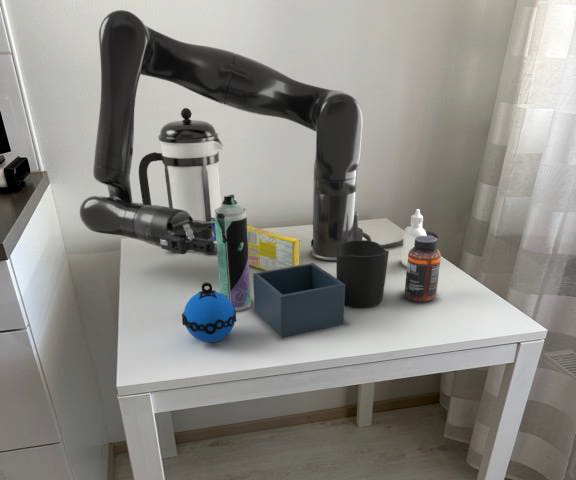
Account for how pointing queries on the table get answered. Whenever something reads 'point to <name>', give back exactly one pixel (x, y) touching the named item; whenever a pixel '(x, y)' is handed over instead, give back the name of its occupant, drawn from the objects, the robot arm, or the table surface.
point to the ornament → (209, 315)
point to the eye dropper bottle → (412, 235)
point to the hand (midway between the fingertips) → (228, 241)
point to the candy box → (271, 249)
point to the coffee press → (187, 167)
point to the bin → (298, 299)
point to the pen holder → (362, 272)
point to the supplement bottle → (422, 269)
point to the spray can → (233, 252)
